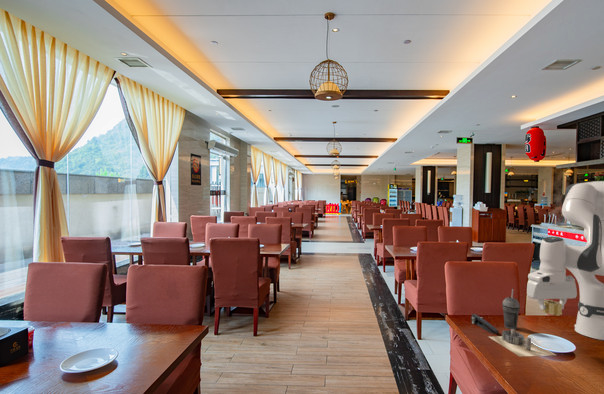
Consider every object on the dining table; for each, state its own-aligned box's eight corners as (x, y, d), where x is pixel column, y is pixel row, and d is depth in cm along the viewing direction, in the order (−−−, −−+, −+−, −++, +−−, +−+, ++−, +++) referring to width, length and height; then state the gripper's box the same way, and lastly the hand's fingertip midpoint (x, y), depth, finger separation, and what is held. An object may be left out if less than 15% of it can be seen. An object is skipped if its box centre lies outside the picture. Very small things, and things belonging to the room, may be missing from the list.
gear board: (521, 338, 146) (521, 325, 146) (556, 358, 128) (557, 343, 128) (488, 339, 144) (488, 325, 144) (519, 359, 127) (519, 344, 127)
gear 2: (551, 309, 140) (552, 299, 140) (565, 315, 134) (566, 304, 134) (537, 310, 140) (538, 299, 140) (551, 315, 133) (551, 305, 133)
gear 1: (508, 335, 146) (508, 328, 146) (528, 342, 139) (528, 335, 139) (497, 338, 142) (498, 332, 142) (517, 346, 135) (517, 339, 135)
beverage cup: (514, 327, 159) (515, 286, 159) (522, 333, 151) (523, 290, 151) (498, 326, 159) (499, 285, 159) (506, 332, 152) (507, 290, 152)
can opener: (467, 323, 163) (467, 312, 163) (480, 323, 164) (480, 312, 164) (489, 339, 146) (489, 326, 146) (504, 338, 146) (504, 326, 146)
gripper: (567, 273, 141) (567, 305, 141) (524, 274, 139) (523, 306, 139) (581, 277, 135) (581, 310, 135) (536, 278, 132) (536, 312, 133)
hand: (551, 308), depth 137 cm, fingers closed on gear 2, 7 cm apart
